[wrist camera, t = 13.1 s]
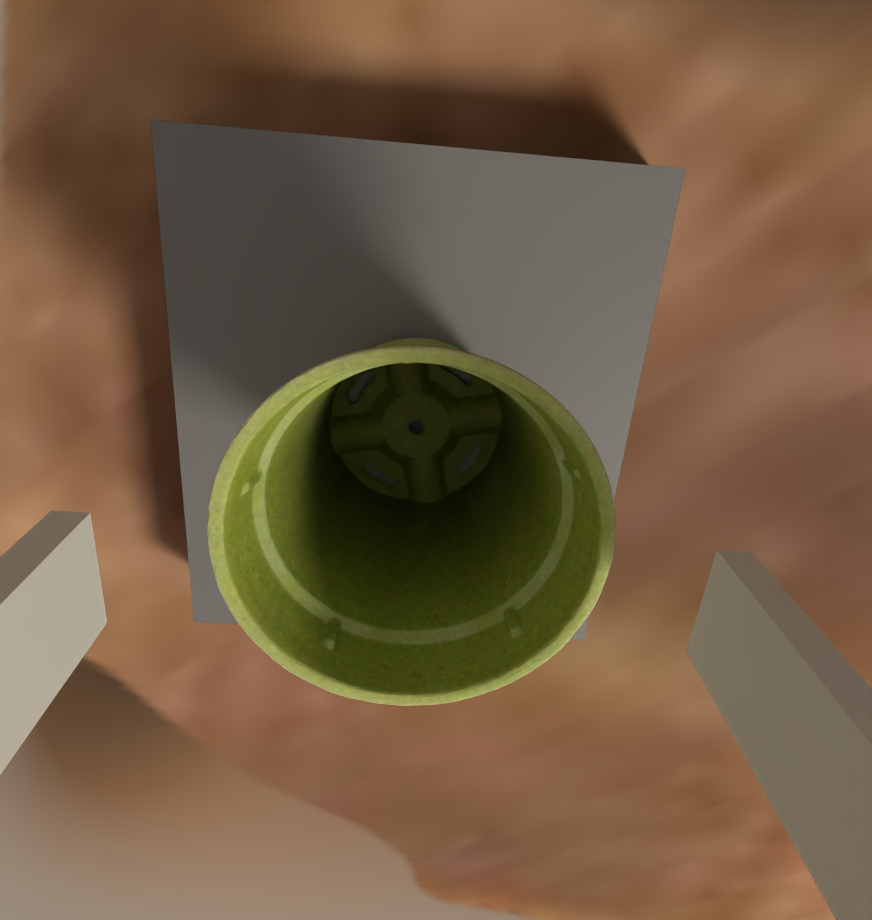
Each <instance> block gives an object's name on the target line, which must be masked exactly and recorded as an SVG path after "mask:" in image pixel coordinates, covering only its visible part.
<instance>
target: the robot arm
mask: <svg viewBox="0 0 872 920" xmlns="http://www.w3.org/2000/svg"><path fill="white" fill-rule="evenodd" d="M106 623H107V618H106V612H105V605H104V599H103V593H102V586H101V580H100V573H99V567H98V561H97V554H96V548H95V541H94V535H93V529H92V522H91V516H90V513H83V512H66V511H50V512H49V513H48V514H47V515H46V516H45V517H44V518H43V519H42V520H41V521H39V522H38V523H37V524H36V525H35V526H34V527H33V528H32V529H31V530H30V531H28V532H27V533H26V534H25V535H24V536H23V537H22V538H21V539H20V540H19V541H17V542H16V543H15V544H14V545H13V546H12V547H11V548H10V549H9V550H8V551H6V552H5V553H4V554H3V555H2V556H1V557H0V774H1V773H2V771H3V770H4V769H5V767H6V766H7V764H8V763H9V761H10V760H11V759H12V757H13V756H14V755H15V753H16V752H17V750H18V749H19V747H20V746H21V745H22V743H23V742H24V740H25V739H26V737H27V736H28V735H29V733H30V732H31V730H32V729H33V727H34V726H35V724H36V723H37V722H38V720H39V719H40V717H41V716H42V715H43V713H44V712H45V710H46V709H47V707H48V706H49V705H50V703H51V702H52V700H53V699H54V697H55V696H56V695H57V693H58V692H59V690H60V689H61V687H62V686H63V685H64V683H65V682H66V680H67V679H68V678H69V676H70V675H71V673H72V672H73V670H74V669H75V667H76V666H77V665H78V663H79V662H80V660H81V659H82V658H83V656H84V655H85V653H86V652H87V650H88V649H89V648H90V646H91V645H92V643H93V642H94V640H95V639H96V638H97V636H98V635H99V633H100V632H101V630H102V629H103V628H104V626H105V625H106ZM686 652H687V654H688V655H689V657H690V659H691V661H692V663H693V664H694V666H695V668H696V670H697V672H698V673H699V675H700V677H701V679H702V681H703V682H704V684H705V686H706V688H707V689H708V691H709V693H710V695H711V697H712V698H713V700H714V702H715V704H716V706H717V707H718V709H719V711H720V713H721V715H722V716H723V718H724V720H725V722H726V724H727V725H728V727H729V729H730V731H731V732H732V734H733V736H734V738H735V740H736V741H737V743H738V745H739V747H740V749H741V750H742V752H743V754H744V756H745V758H746V759H747V761H748V763H749V765H750V767H751V768H752V770H753V772H754V774H755V775H756V777H757V779H758V781H759V783H760V784H761V786H762V788H763V790H764V792H765V793H766V795H767V797H768V799H769V801H770V802H771V804H772V806H773V808H774V810H775V811H776V813H777V815H778V817H779V818H780V820H781V822H782V824H783V826H784V827H785V829H786V831H787V833H788V835H789V836H790V838H791V840H792V842H793V844H794V845H795V847H796V849H797V851H798V852H799V854H800V856H801V858H802V860H803V861H804V863H805V865H806V867H807V869H808V870H809V872H810V874H811V876H812V878H813V879H814V881H815V883H816V885H817V887H818V888H819V890H820V892H821V894H822V895H823V897H824V899H825V901H826V903H827V904H828V906H829V908H830V910H831V912H832V913H833V915H834V917H835V919H836V920H872V688H871V687H870V686H869V685H868V684H867V683H866V682H865V680H864V679H863V678H862V677H861V676H860V675H859V674H858V672H857V671H856V670H855V669H854V668H853V667H852V666H851V664H850V663H849V662H848V661H847V660H846V659H845V658H844V657H843V655H842V654H841V653H840V652H839V651H838V650H837V649H836V647H835V646H834V645H833V644H832V643H831V642H830V641H829V639H828V638H827V637H826V636H825V635H824V634H823V633H822V632H821V630H820V629H819V628H818V627H817V626H816V625H815V624H814V622H813V621H812V620H811V619H810V618H809V617H808V616H807V614H806V613H805V612H804V611H803V610H802V609H801V608H800V606H799V605H798V604H797V603H796V602H795V601H794V600H793V599H792V597H791V596H790V595H789V594H788V593H787V592H786V591H785V589H784V588H783V587H782V586H781V585H780V584H779V583H778V581H777V580H776V579H775V578H774V577H773V576H772V575H771V574H770V572H769V571H768V570H767V569H766V568H765V567H764V566H763V564H762V563H761V562H760V561H759V560H758V559H757V558H756V556H755V555H754V554H753V553H752V552H743V551H726V550H717V551H716V555H715V558H714V561H713V565H712V568H711V571H710V575H709V578H708V581H707V585H706V588H705V591H704V595H703V598H702V601H701V605H700V608H699V611H698V615H697V618H696V621H695V625H694V628H693V631H692V634H691V638H690V641H689V644H688V648H687V651H686Z"/></svg>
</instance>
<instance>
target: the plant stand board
mask: <svg viewBox="0 0 872 920" xmlns="http://www.w3.org/2000/svg"><path fill="white" fill-rule="evenodd" d="M150 122H151V133H152V145H153V156H154V168H155V179H156V191H157V203H158V214H159V226H160V237H161V249H162V260H163V272H164V283H165V295H166V306H167V318H168V329H169V341H170V352H171V364H172V375H173V387H174V399H175V410H176V422H177V433H178V445H179V456H180V468H181V479H182V491H183V502H184V514H185V525H186V537H187V548H188V560H189V572H190V583H191V595H192V606H193V618H194V622H207V623H228V624H238V622H237V621H236V619H235V618H234V616H233V615H232V613H231V611H230V610H229V608H228V606H227V604H226V602H225V600H224V598H223V596H222V595H221V593H220V591H219V589H218V586H217V581H216V579H215V575H214V570H213V567H212V563H211V559H210V554H209V548H208V536H207V519H208V509H209V501H210V495H211V490H212V486H213V483H214V480H215V476H216V473H217V470H218V468H219V465H220V463H221V460H222V458H223V456H224V454H225V452H226V450H227V448H228V447H229V445H230V443H231V441H232V440H233V438H234V436H235V435H236V433H237V432H238V430H239V429H240V427H241V426H242V425H243V423H244V422H245V421H246V420H247V418H248V417H249V416H250V415H251V414H252V413H253V412H254V410H255V409H256V408H257V407H258V406H259V405H260V404H261V403H262V402H264V401H265V400H266V399H267V398H268V397H269V396H270V395H271V394H272V393H273V392H275V391H276V390H277V389H279V388H280V387H281V386H283V385H284V384H286V383H287V382H288V381H290V380H291V379H293V378H294V377H296V376H298V375H299V374H301V373H303V372H304V371H306V370H308V369H310V368H312V367H314V366H316V365H318V364H320V363H323V362H325V361H328V360H330V359H333V358H335V357H338V356H341V355H344V354H348V353H351V352H355V351H358V350H363V349H369V348H374V347H376V346H378V345H380V344H382V343H386V342H390V341H393V340H398V339H405V338H428V339H434V340H438V341H441V342H444V343H447V344H450V345H452V346H454V347H456V348H458V349H460V350H462V351H466V352H470V353H473V354H476V355H479V356H482V357H485V358H488V359H491V360H494V361H496V362H498V363H501V364H503V365H505V366H507V367H509V368H511V369H513V370H515V371H517V372H519V373H520V374H522V375H524V376H525V377H527V378H529V379H530V380H532V381H533V382H535V383H536V384H538V385H539V386H541V387H542V388H543V389H544V390H546V391H547V392H548V393H549V394H551V395H552V396H553V397H554V398H555V399H556V400H558V401H559V402H560V403H561V404H562V405H563V406H564V407H565V408H566V409H567V410H568V411H569V412H570V413H571V414H572V415H573V417H574V418H575V419H576V420H577V421H578V423H579V424H580V425H581V426H582V428H583V429H584V431H585V432H586V433H587V435H588V436H589V438H590V439H591V441H592V443H593V444H594V446H595V448H596V450H597V452H598V454H599V456H600V458H601V460H602V462H603V465H604V468H605V470H606V473H607V476H608V479H609V482H610V485H611V489H612V494H613V500H614V497H615V492H616V488H617V483H618V478H619V474H620V469H621V465H622V460H623V455H624V451H625V446H626V441H627V437H628V432H629V427H630V423H631V418H632V414H633V409H634V404H635V400H636V395H637V390H638V386H639V381H640V376H641V372H642V367H643V363H644V358H645V353H646V349H647V344H648V339H649V335H650V330H651V325H652V321H653V316H654V312H655V307H656V302H657V298H658V293H659V288H660V284H661V279H662V274H663V270H664V265H665V261H666V256H667V251H668V247H669V242H670V237H671V233H672V228H673V223H674V219H675V214H676V210H677V205H678V200H679V196H680V191H681V186H682V182H683V177H684V172H685V168H674V167H663V166H653V165H642V164H631V163H620V162H609V161H598V160H587V159H576V158H565V157H554V156H543V155H532V154H521V153H510V152H499V151H489V150H478V149H467V148H456V147H445V146H434V145H423V144H412V143H401V142H390V141H379V140H368V139H357V138H346V137H336V136H325V135H314V134H303V133H292V132H281V131H270V130H259V129H248V128H237V127H226V126H215V125H204V124H193V123H182V122H172V121H161V120H150ZM438 366H439V367H441V368H444V369H446V370H448V371H449V372H451V373H453V374H454V375H455V376H456V377H457V378H459V379H460V380H461V381H462V382H463V383H464V384H465V385H468V384H470V383H471V377H470V376H469V375H468V373H467V372H465V371H462V370H459V369H456V368H452V367H449V366H444V365H438ZM373 378H374V373H373V372H372V371H370V372H366V373H364V374H363V375H362V376H361V377H360V378H359V379H358V381H357V382H356V384H355V385H354V387H353V388H352V389H351V390H350V391H349V398H348V399H349V403H350V404H355V403H356V402H357V401H358V399H359V395H360V394H361V392H362V390H363V389H364V388H365V387H366V385H367V384H368V383H369V382H370V381H371V380H372V379H373ZM409 429H410V430H411V432H413V433H415V434H419V433H421V432H422V431H423V429H424V427H423V424H422V423H420V422H419V421H417V420H415V421H412V422H411V423H410V424H409ZM479 451H480V443H477V444H476V445H475V448H474V449H472V450H471V452H470V453H469V454H468V456H467V457H466V458H465V459H464V460H463V461H462V462H461V463H460V464H459V465H457V467H456V471H457V472H458V473H461V472H463V471H465V470H467V469H468V468H469V467H470V466H471V465H472V464H473V463H474V462H475V460H476V458H477V456H478V454H479ZM365 468H366V471H367V472H368V473H369V474H370V475H372V476H373V477H375V478H377V479H378V480H380V481H382V482H384V483H387V484H389V485H392V484H394V483H395V484H396V483H397V480H395V479H393V478H391V477H388V475H386V474H384V473H382V472H381V471H380V470H379V469H378V468H376V467H375V466H374V465H372V464H371V463H369V462H367V463H366V464H365ZM588 618H589V615H588V617H587V618H586V620H585V621H584V622H583V624H582V625H581V626H580V628H579V629H578V630H577V631H576V632H575V634H574V635H573V636H572V637H571V639H575V640H584V636H585V631H586V627H587V622H588Z"/></svg>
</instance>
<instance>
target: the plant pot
mask: <svg viewBox="0 0 872 920" xmlns="http://www.w3.org/2000/svg"><path fill="white" fill-rule="evenodd" d="M438 365H444V366H449V367H452V368H456V369H459V370H462V371H465V372H467V373H468V375H469V376H470V377H471V383H470V384H468V385H465V384H464V383H463V382H462V381H461V380H460V379H459V378H457V377H456V376H455V375H454V374H453V373H451V372H449V371H448V370H446V369H444V368H441V367H439V366H438ZM370 371H372V372H373V373H374V378H373V379H372V380H371V381H370V382H369V383H368V384H367V385H366V387H365V388H364V389H363V390H362V392H361V394H360V395H359V399H358V401H357V402H356V403H355V404H350V403H349V399H348V398H349V391H350V390H351V389H352V388H353V387H354V385H355V384H356V382H357V381H358V379H359V378H360V377H361V376H362V375H363V374H364V373H366V372H370ZM415 420H417V421H419V422H420V423H422V424H423V427H424V429H423V431H422V432H421V433H419V434H415V433H413V432H411V430H410V429H409V424H410V423H411V422H412V421H415ZM477 443H480V451H479V454H478V456H477V458H476V460H475V462H474V463H473V464H472V465H471V466H470V467H469V468H468V469H467V470H465V471H463V472H461V473H458V472H457V471H456V467H457V465H459V464H460V463H461V462H462V461H463V460H464V459H465V458H466V457H467V456H468V454H469V453H470V452H471V450H472V449H474V448H475V445H476V444H477ZM367 462H369V463H371V464H372V465H374V466H375V467H376V468H378V469H379V470H380V471H381V472H382V473H384V474H386V475H388V477H391V478H393V479H395V480H397V483H396V484H395V483H394V484H392V485H389V484H387V483H384V482H382V481H380V480H378V479H377V478H375V477H373V476H372V475H370V474H369V473H368V472H367V471H366V468H365V464H366V463H367ZM207 536H208V548H209V554H210V559H211V563H212V567H213V570H214V575H215V579H216V581H217V586H218V589H219V591H220V593H221V595H222V596H223V598H224V600H225V602H226V604H227V606H228V608H229V610H230V611H231V613H232V615H233V616H234V618H235V619H236V621H237V622H238V624H239V625H240V626H241V628H242V629H243V630H244V631H245V632H246V633H247V634H248V635H249V637H250V638H251V639H252V640H253V641H254V642H255V643H256V644H257V645H258V646H259V647H260V648H261V649H262V650H263V651H264V652H265V653H266V654H267V655H269V656H270V657H271V658H272V659H273V660H274V661H276V662H277V663H278V664H280V665H281V666H282V667H283V668H285V669H286V670H288V671H289V672H291V673H293V674H294V675H296V676H298V677H300V678H302V679H304V680H306V681H307V682H309V683H311V684H314V685H316V686H318V687H320V688H322V689H324V690H326V691H329V692H332V693H335V694H338V695H341V696H344V697H348V698H352V699H358V700H362V701H367V702H372V703H378V704H391V705H400V706H411V705H435V704H441V703H449V702H455V701H460V700H464V699H468V698H472V697H475V696H478V695H481V694H484V693H487V692H490V691H493V690H496V689H498V688H501V687H503V686H505V685H507V684H510V683H512V682H514V681H516V680H517V679H519V678H521V677H523V676H525V675H526V674H528V673H529V672H531V671H533V670H534V669H535V668H537V667H538V666H540V665H541V664H543V663H544V662H546V661H547V660H548V659H550V658H551V657H552V656H553V655H555V654H556V653H557V652H558V651H559V650H560V649H561V648H562V647H563V646H564V645H565V644H566V643H567V642H568V641H569V640H570V639H571V637H572V636H573V635H574V634H575V632H576V631H577V630H578V629H579V628H580V626H581V625H582V624H583V622H584V621H585V620H586V618H587V617H588V615H589V614H590V613H591V611H592V609H593V607H594V606H595V604H596V602H597V600H598V598H599V596H600V594H601V591H602V588H603V586H604V583H605V581H606V578H607V575H608V572H609V569H610V566H611V563H612V558H613V553H614V544H615V537H616V516H615V507H614V500H613V494H612V489H611V485H610V482H609V479H608V476H607V473H606V470H605V468H604V465H603V462H602V460H601V458H600V456H599V454H598V452H597V450H596V448H595V446H594V444H593V443H592V441H591V439H590V438H589V436H588V435H587V433H586V432H585V431H584V429H583V428H582V426H581V425H580V424H579V423H578V421H577V420H576V419H575V418H574V417H573V415H572V414H571V413H570V412H569V411H568V410H567V409H566V408H565V407H564V406H563V405H562V404H561V403H560V402H559V401H558V400H556V399H555V398H554V397H553V396H552V395H551V394H549V393H548V392H547V391H546V390H544V389H543V388H542V387H541V386H539V385H538V384H536V383H535V382H533V381H532V380H530V379H529V378H527V377H525V376H524V375H522V374H520V373H519V372H517V371H515V370H513V369H511V368H509V367H507V366H505V365H503V364H501V363H498V362H496V361H494V360H491V359H488V358H485V357H482V356H479V355H476V354H473V353H470V352H466V351H462V350H460V349H458V348H456V347H454V346H452V345H450V344H447V343H444V342H441V341H438V340H434V339H428V338H405V339H398V340H393V341H390V342H386V343H382V344H380V345H378V346H376V347H374V348H369V349H363V350H358V351H355V352H351V353H348V354H344V355H341V356H338V357H335V358H333V359H330V360H328V361H325V362H323V363H320V364H318V365H316V366H314V367H312V368H310V369H308V370H306V371H304V372H303V373H301V374H299V375H298V376H296V377H294V378H293V379H291V380H290V381H288V382H287V383H286V384H284V385H283V386H281V387H280V388H279V389H277V390H276V391H275V392H273V393H272V394H271V395H270V396H269V397H268V398H267V399H266V400H265V401H264V402H262V403H261V404H260V405H259V406H258V407H257V408H256V409H255V410H254V412H253V413H252V414H251V415H250V416H249V417H248V418H247V420H246V421H245V422H244V423H243V425H242V426H241V427H240V429H239V430H238V432H237V433H236V435H235V436H234V438H233V440H232V441H231V443H230V445H229V447H228V448H227V450H226V452H225V454H224V456H223V458H222V460H221V463H220V465H219V468H218V470H217V473H216V476H215V480H214V483H213V486H212V490H211V495H210V501H209V509H208V519H207Z"/></svg>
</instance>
